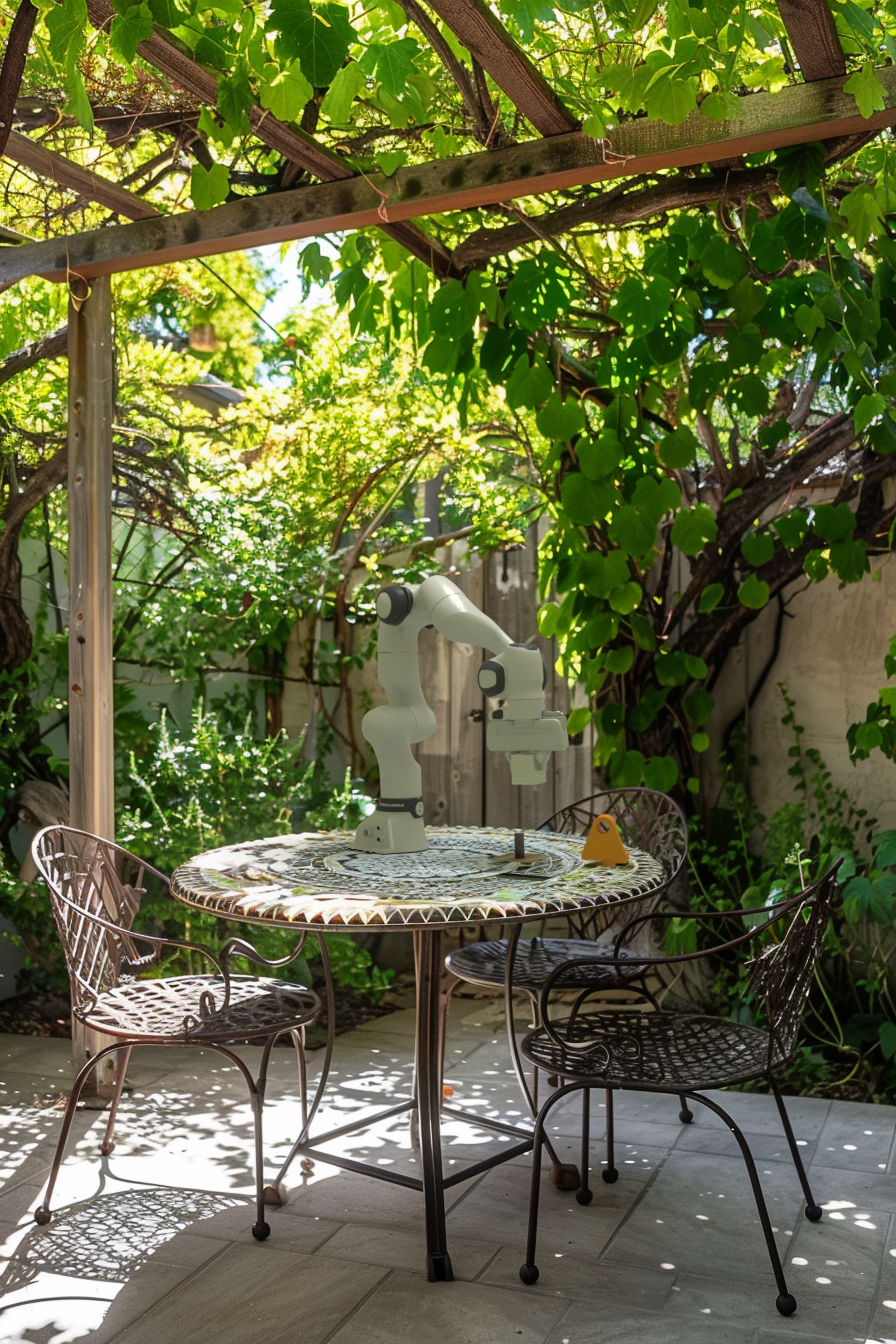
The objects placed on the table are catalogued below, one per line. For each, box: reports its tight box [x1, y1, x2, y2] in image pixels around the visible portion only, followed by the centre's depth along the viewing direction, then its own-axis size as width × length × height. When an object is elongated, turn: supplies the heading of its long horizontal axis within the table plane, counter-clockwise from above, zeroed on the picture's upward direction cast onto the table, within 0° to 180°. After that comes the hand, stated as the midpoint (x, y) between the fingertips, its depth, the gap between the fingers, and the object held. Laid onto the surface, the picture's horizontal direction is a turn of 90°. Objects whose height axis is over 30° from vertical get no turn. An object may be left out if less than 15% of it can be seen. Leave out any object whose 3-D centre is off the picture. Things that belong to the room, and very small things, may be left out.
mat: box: [495, 872, 554, 882], centre depth 289 cm, size 12×12×1 cm
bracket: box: [580, 813, 630, 867], centre depth 303 cm, size 11×7×12 cm, turn 74°
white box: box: [510, 752, 547, 786], centre depth 292 cm, size 6×6×7 cm
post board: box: [487, 832, 552, 864], centre depth 306 cm, size 12×12×8 cm
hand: (528, 770), depth 292 cm, fingers closed on white box, 6 cm apart
